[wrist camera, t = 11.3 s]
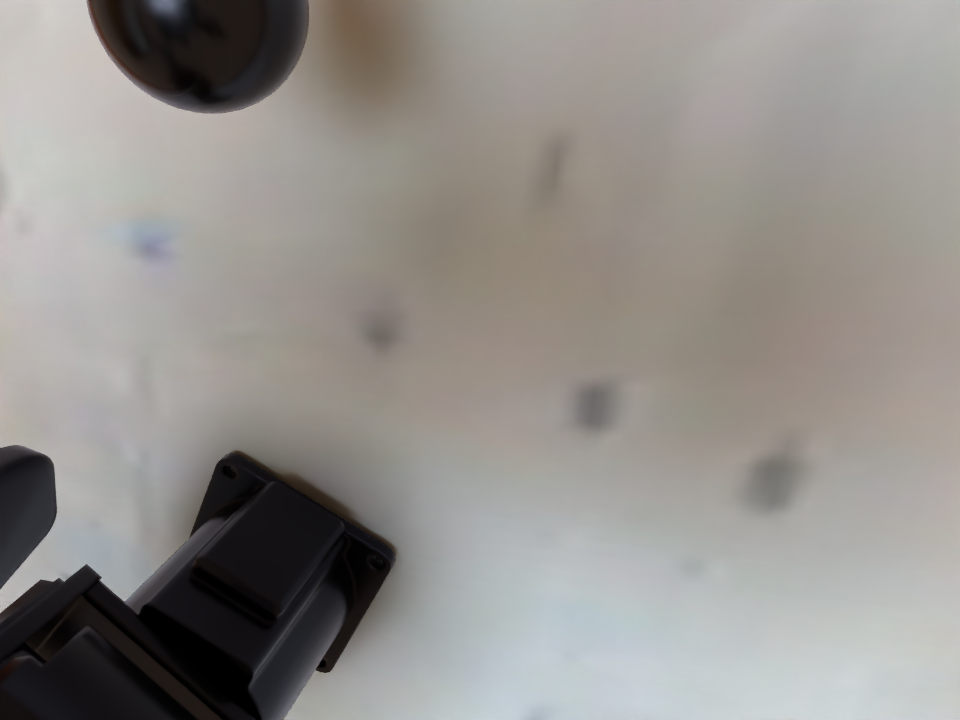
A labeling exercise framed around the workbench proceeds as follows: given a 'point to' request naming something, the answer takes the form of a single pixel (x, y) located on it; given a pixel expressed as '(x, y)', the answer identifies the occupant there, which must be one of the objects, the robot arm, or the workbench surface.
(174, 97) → the lever
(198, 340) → the workbench surface
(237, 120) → the workbench surface
